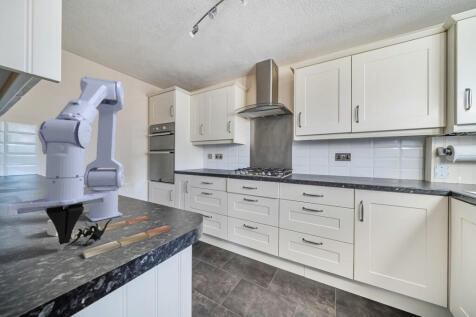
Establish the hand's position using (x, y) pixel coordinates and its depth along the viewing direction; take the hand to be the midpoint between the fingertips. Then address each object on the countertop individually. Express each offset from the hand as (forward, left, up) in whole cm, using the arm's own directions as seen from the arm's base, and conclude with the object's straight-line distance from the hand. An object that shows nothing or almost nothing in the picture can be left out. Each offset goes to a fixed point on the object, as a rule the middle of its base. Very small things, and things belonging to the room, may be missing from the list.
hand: (64, 242), depth 36 cm
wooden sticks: (0, +11, -2) cm, 11 cm away
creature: (-1, +4, -2) cm, 5 cm away
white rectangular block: (-12, +1, -2) cm, 12 cm away
